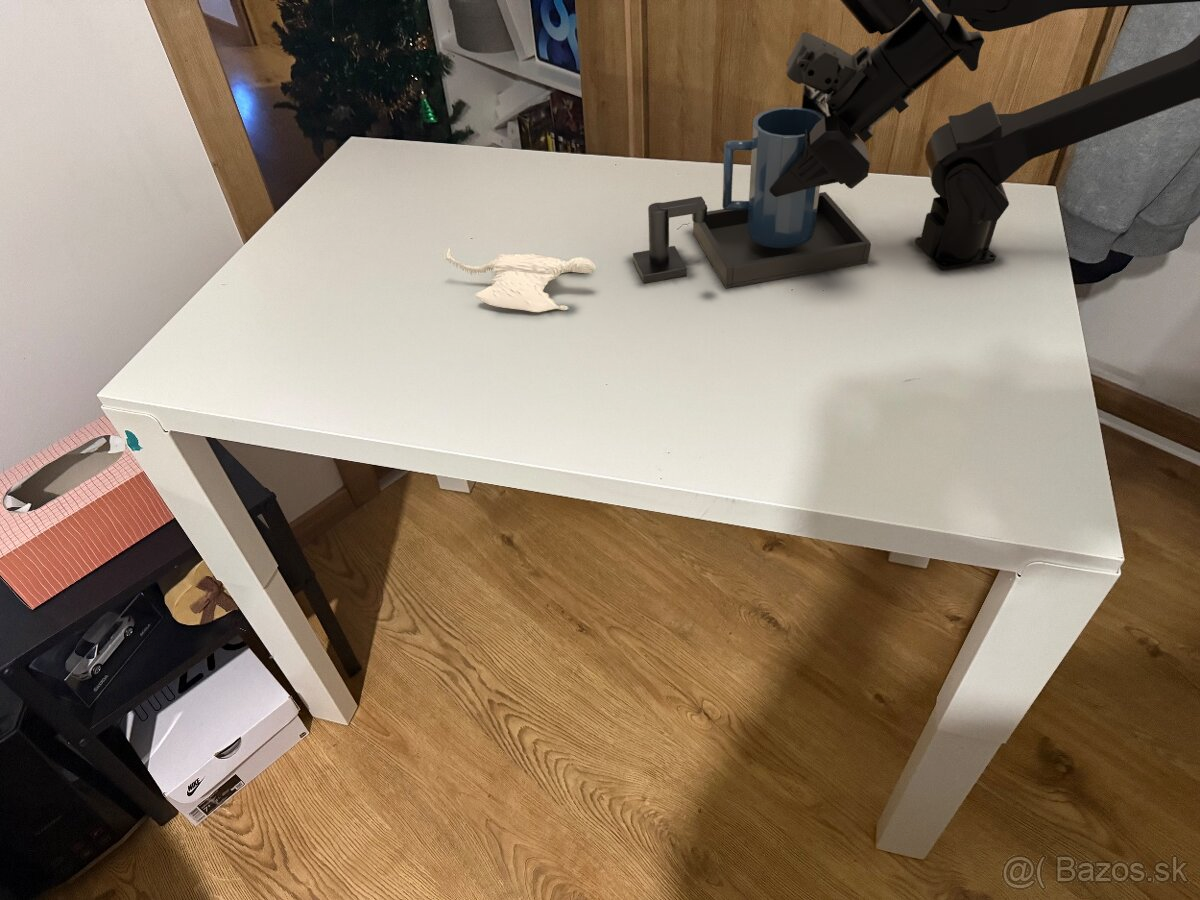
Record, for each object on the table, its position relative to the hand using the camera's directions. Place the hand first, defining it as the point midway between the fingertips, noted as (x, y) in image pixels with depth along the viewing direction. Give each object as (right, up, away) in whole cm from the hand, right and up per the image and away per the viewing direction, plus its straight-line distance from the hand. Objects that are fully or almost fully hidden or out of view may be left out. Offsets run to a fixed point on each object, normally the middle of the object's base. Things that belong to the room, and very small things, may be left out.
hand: (772, 175), depth 88 cm
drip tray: (+2, -6, +6) cm, 9 cm away
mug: (0, -5, +5) cm, 7 cm away
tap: (-11, -9, +5) cm, 14 cm away
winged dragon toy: (-28, -11, +4) cm, 30 cm away
